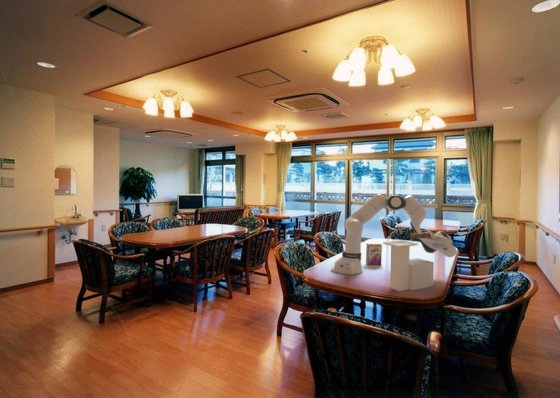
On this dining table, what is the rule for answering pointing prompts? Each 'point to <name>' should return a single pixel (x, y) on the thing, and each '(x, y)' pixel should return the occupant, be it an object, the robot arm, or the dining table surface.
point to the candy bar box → (373, 254)
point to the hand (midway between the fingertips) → (427, 234)
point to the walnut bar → (420, 235)
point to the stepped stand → (408, 268)
